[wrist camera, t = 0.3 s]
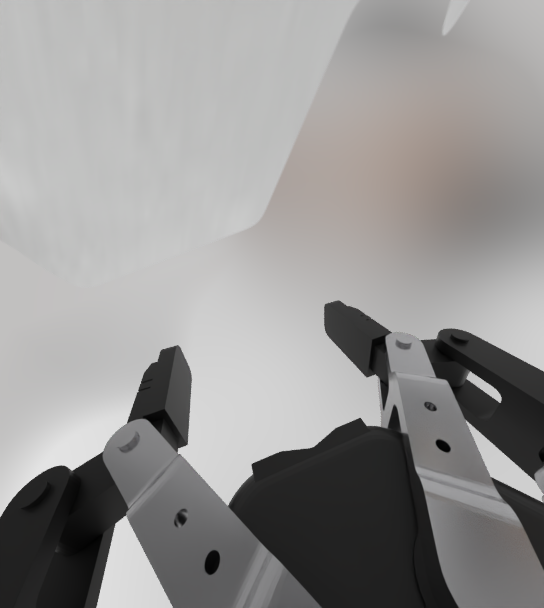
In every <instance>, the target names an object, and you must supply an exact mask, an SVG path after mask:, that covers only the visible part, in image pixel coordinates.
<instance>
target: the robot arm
mask: <svg viewBox="0 0 544 608" xmlns="http://www.w3.org/2000/svg"><path fill="white" fill-rule="evenodd" d="M324 311H325V312H324V317H325V318H324V323H325V324H324V325H325V331H326V333H327V335H328V336H329V338H330V339H331V340H332V341H333V342H334V343H335V344H336V345H337V346H338V347H339V348H340V349H341V350H342V351H343V353H344V354H345V355H346V356H347V357H348V358H349V359H350V360H351V361H352V362H353V363H354V364H355V365H356V366H357V368H358V369H359V370H360V371H361V372H362V373H363V374H364V375H365V376H366V377H369V376H372V375H375V374H376V375H377V376H378V389H379V399H380V409H381V427H378V426H366V425H365V423H364V422H363V421H362V419H361V418H359V419H356V420H354V421H352V422H350V423H347V424H345V425H342V426H340V427H338V428H336V429H335V430H333V431H332V432H331V433H330V434H329V435H328V436H326V437H325V438H324V439H323V440H322V441H321V442H319V443H318V444H317V445H316V446H315V447H313V448H310V449H300V450H291V451H282V452H279V453H276V454H274V455H272V456H269V457H267V458H265V459H262V460H260V461H257V462H255V463H253V464H252V470H253V475H252V476H251V477H249V478H248V479H247V480H246V481H245V482H244V483H243V485H242V486H241V487H240V488H239V490H238V491H237V492H236V493H235V495H234V497H233V498H232V500H231V502H230V503H229V505H228V506H227V505H226V504H225V503H224V502H223V501H222V499H221V498H220V497H219V496H218V495H217V494H216V493H215V492H214V491H213V489H212V488H211V487H210V486H209V485H208V484H207V483H206V482H205V481H204V480H203V479H202V477H201V476H200V475H199V474H198V473H197V472H196V471H195V470H194V469H193V467H192V466H191V465H190V464H189V463H188V462H187V461H186V460H185V459H184V458H183V457H182V456H181V455H180V454H178V453H177V452H178V448H181V447H183V446H186V445H187V444H188V429H189V413H190V397H191V381H192V378H191V371H190V368H189V366H188V363H187V361H186V359H185V357H184V355H183V353H182V351H181V348H180V347H179V346H178V345H177V346H174V347H170V348H166V349H163V350H161V352H160V355H159V359H158V362H155V363H152V364H151V365H150V366H149V368H148V369H147V370H146V371H145V373H144V375H143V378H142V381H141V384H140V387H139V390H138V391H139V392H138V393H137V396H136V398H135V401H134V404H133V407H132V410H131V413H130V416H129V419H128V422H127V424H126V425H124V426H123V427H121V428H120V429H119V430H118V431H117V432H116V433H115V434H114V435H113V436H112V437H111V438H110V440H109V441H108V442H107V444H106V446H105V448H104V451H103V452H102V453H100V454H99V455H97V456H96V457H94V458H92V459H91V460H89V461H87V462H86V463H84V464H83V465H81V466H80V467H78V468H76V469H75V470H73V471H71V470H70V469H69V468H68V467H66V466H56V467H53V468H51V469H48V470H46V471H45V472H43V473H41V474H40V475H38V476H37V477H35V478H34V479H32V480H31V481H30V482H29V483H28V484H27V485H25V486H24V487H23V488H22V489H21V490H20V491H19V492H18V493H17V494H16V496H15V497H14V498H13V499H12V501H11V502H10V503H9V504H8V506H7V507H6V509H5V511H4V512H3V514H2V516H1V517H0V608H96V606H97V602H98V598H99V593H100V589H101V584H102V580H103V575H104V571H105V567H106V562H107V557H108V553H109V549H110V545H111V540H112V536H113V532H114V527H115V523H117V522H118V521H119V520H120V519H122V518H123V517H124V516H126V515H127V518H128V520H129V523H130V525H131V526H132V528H133V530H134V532H135V534H136V536H137V538H138V540H139V542H140V544H141V546H142V548H143V550H144V552H145V554H146V556H147V558H148V559H149V562H150V564H151V565H152V567H153V569H154V571H155V573H156V575H157V577H158V579H159V581H160V583H161V585H162V587H163V589H164V591H165V593H166V595H167V596H168V598H169V600H170V602H171V604H172V606H173V608H544V495H543V496H542V501H543V502H541V501H538V500H536V499H534V498H532V497H530V496H528V495H526V494H524V493H522V492H520V491H518V490H516V489H514V488H512V487H510V486H508V485H506V484H504V483H502V482H500V481H498V480H496V479H494V478H492V477H490V475H489V472H488V470H487V468H486V466H485V464H484V461H483V459H482V457H481V454H480V452H479V450H478V448H477V445H476V443H475V441H474V439H473V437H472V434H471V432H470V430H469V428H468V425H467V423H466V421H465V420H467V421H468V422H469V423H470V424H471V425H472V426H474V427H475V428H476V429H477V430H478V431H479V432H480V433H481V434H482V435H484V436H485V437H486V438H487V439H488V440H489V441H490V442H492V443H493V444H494V445H495V446H496V447H497V448H498V449H499V450H501V451H502V452H503V453H504V454H505V455H506V456H507V457H509V458H510V459H511V460H512V461H513V462H514V463H515V464H516V465H518V466H519V467H520V468H521V469H522V470H524V472H525V473H527V474H528V475H529V476H530V477H531V478H532V479H534V480H535V481H536V483H537V485H538V486H539V488H540V489H541V491H542V492H543V494H544V372H543V371H541V370H540V369H538V368H536V367H534V366H532V365H530V364H528V363H526V362H524V361H522V360H521V359H519V358H517V357H515V356H513V355H511V354H509V353H507V352H505V351H503V350H501V349H499V348H498V347H496V346H494V345H492V344H490V343H488V342H486V341H484V340H482V339H481V338H479V337H476V336H475V335H472V334H471V333H469V332H466V331H463V330H458V329H443V330H441V331H440V332H439V333H438V336H437V339H434V340H419V339H418V338H416V337H415V336H413V335H410V334H407V333H401V332H395V333H392V332H390V331H389V330H388V329H386V328H385V327H383V326H382V325H380V324H379V323H377V322H376V321H374V320H373V319H371V318H370V317H369V316H367V315H365V314H364V313H363V312H361V311H360V310H358V309H356V308H353V307H350V306H346V305H344V304H343V303H342V302H341V301H334V302H331V303H328V304H325V307H324ZM470 371H471V372H472V373H474V374H475V375H477V376H478V377H480V378H481V379H483V380H484V381H486V382H487V383H489V384H490V385H491V386H493V387H494V388H495V389H497V391H498V392H499V393H500V395H501V397H502V401H501V403H499V402H498V401H496V400H495V399H494V398H492V397H491V396H489V395H488V394H487V393H485V392H484V391H482V390H481V389H480V388H478V387H477V386H475V385H474V384H473V383H471V382H470V381H468V380H467V379H466V378H467V376H468V374H469V372H470Z"/></svg>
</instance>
